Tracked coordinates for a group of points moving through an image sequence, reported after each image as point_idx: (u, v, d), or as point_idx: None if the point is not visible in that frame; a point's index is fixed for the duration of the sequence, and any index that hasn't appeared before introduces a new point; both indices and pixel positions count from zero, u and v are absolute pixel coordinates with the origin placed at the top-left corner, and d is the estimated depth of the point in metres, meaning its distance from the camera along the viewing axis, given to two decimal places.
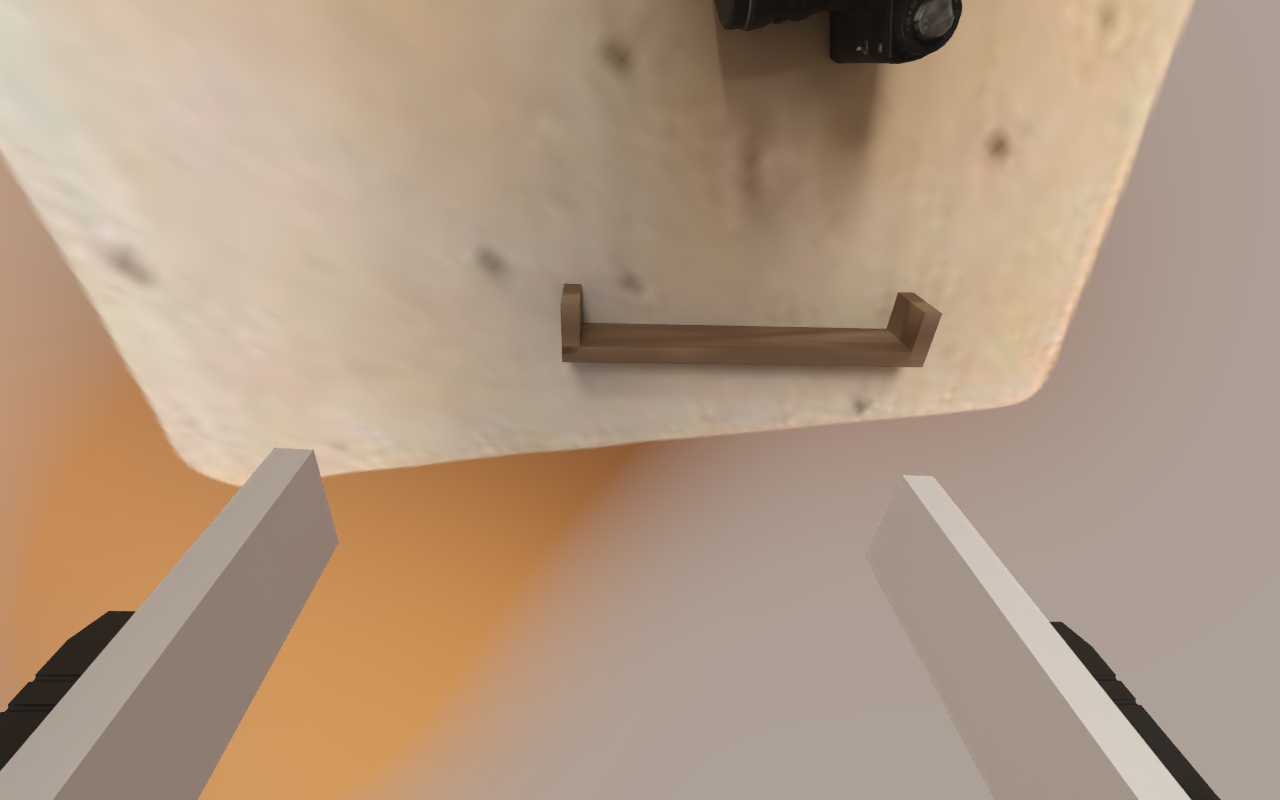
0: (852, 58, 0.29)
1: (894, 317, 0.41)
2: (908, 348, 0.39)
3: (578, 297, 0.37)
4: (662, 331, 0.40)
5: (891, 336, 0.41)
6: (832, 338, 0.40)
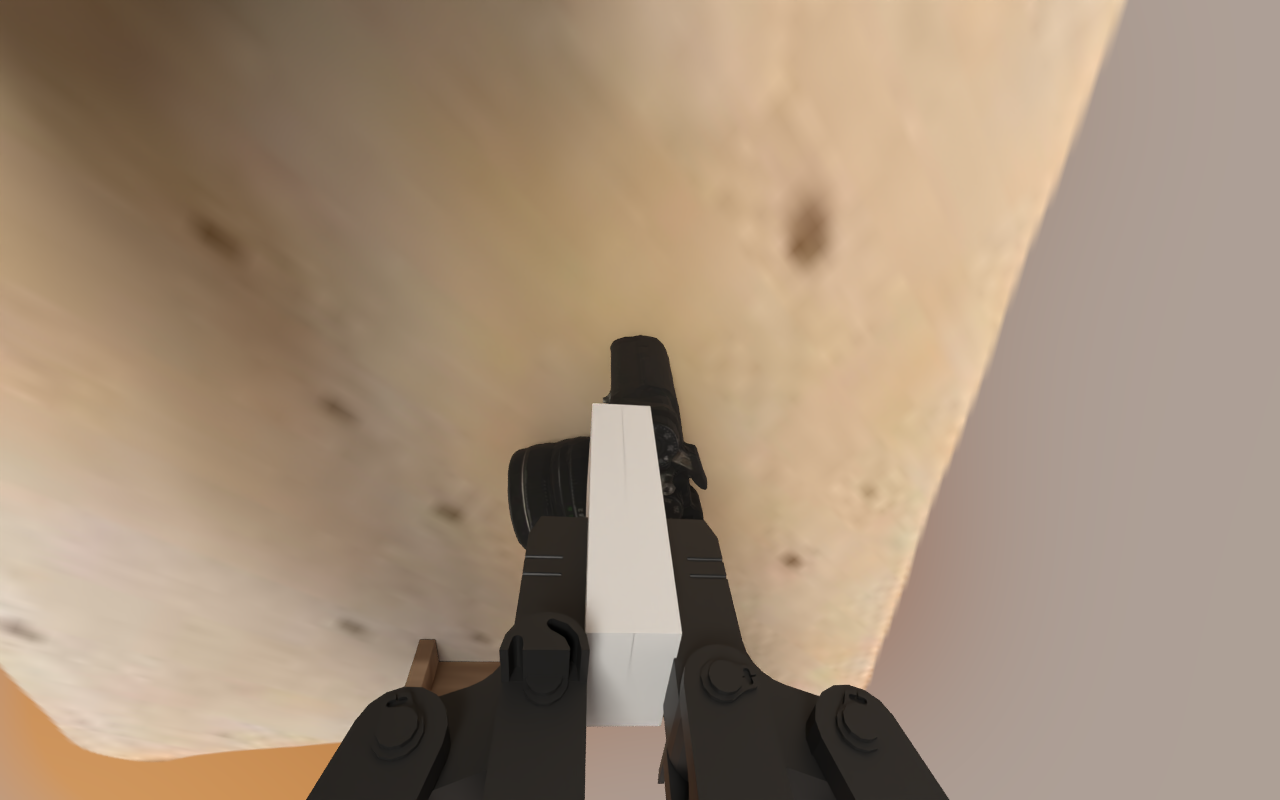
0: None
1: None
2: None
3: (424, 669, 0.42)
4: None
5: None
6: None
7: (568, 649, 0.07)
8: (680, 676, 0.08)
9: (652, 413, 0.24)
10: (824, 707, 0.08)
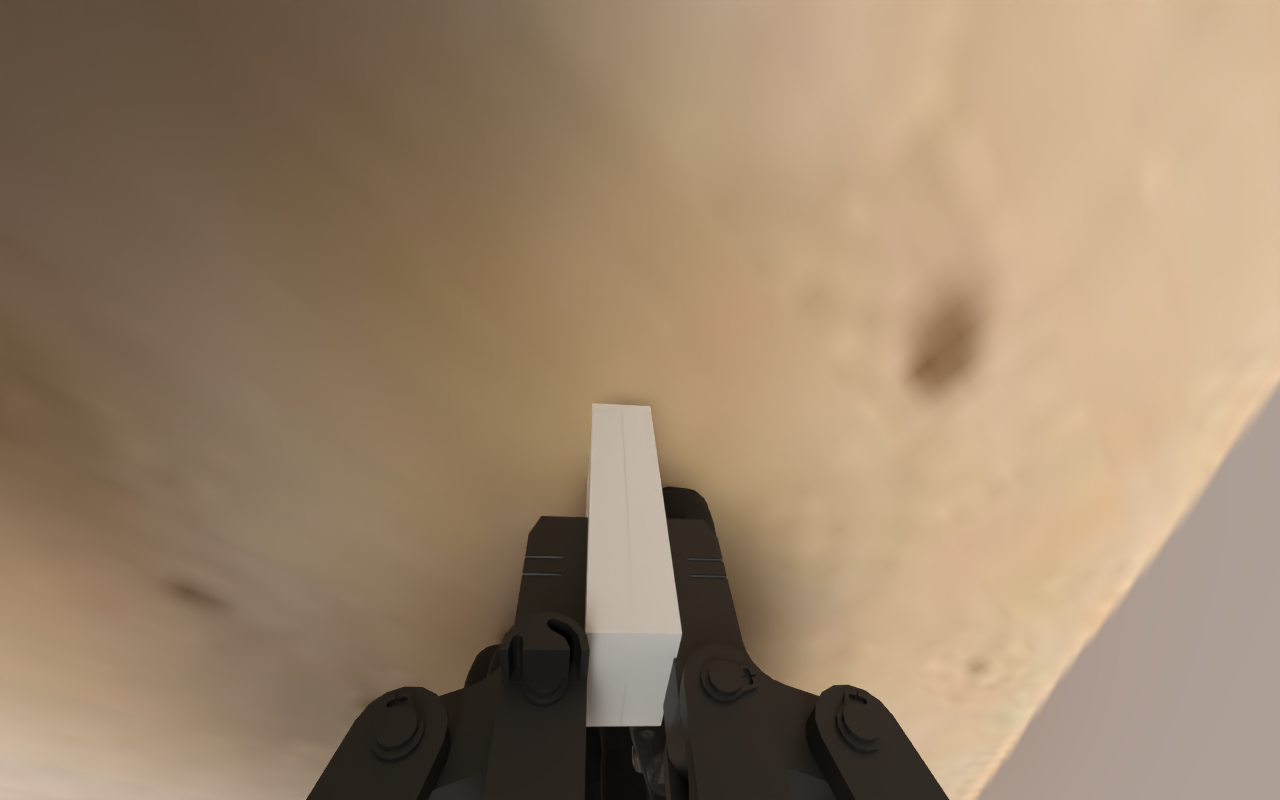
0: None
1: None
2: None
3: None
4: None
5: None
6: None
7: (568, 649, 0.07)
8: (680, 676, 0.08)
9: None
10: (824, 707, 0.08)
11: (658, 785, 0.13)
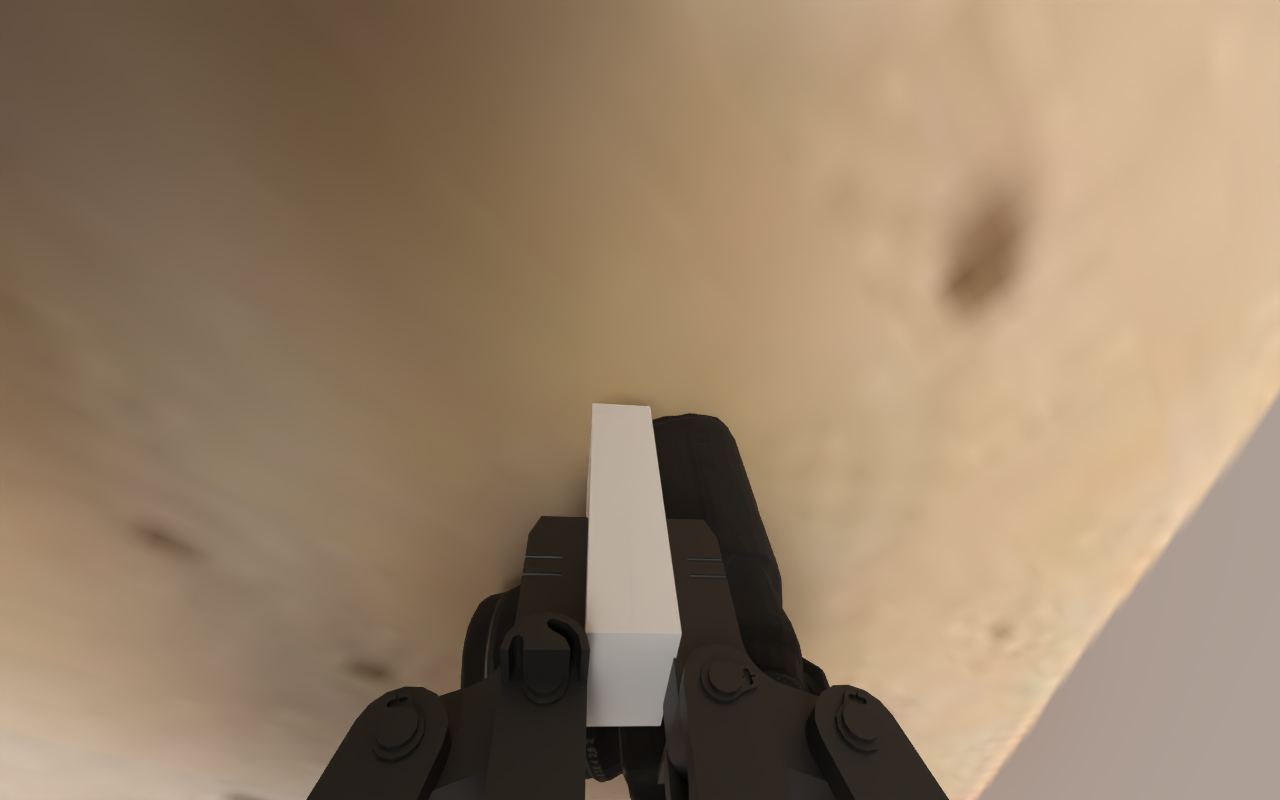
0: None
1: None
2: None
3: None
4: None
5: None
6: None
7: (568, 649, 0.07)
8: (680, 676, 0.08)
9: (748, 637, 0.11)
10: (824, 707, 0.08)
11: None
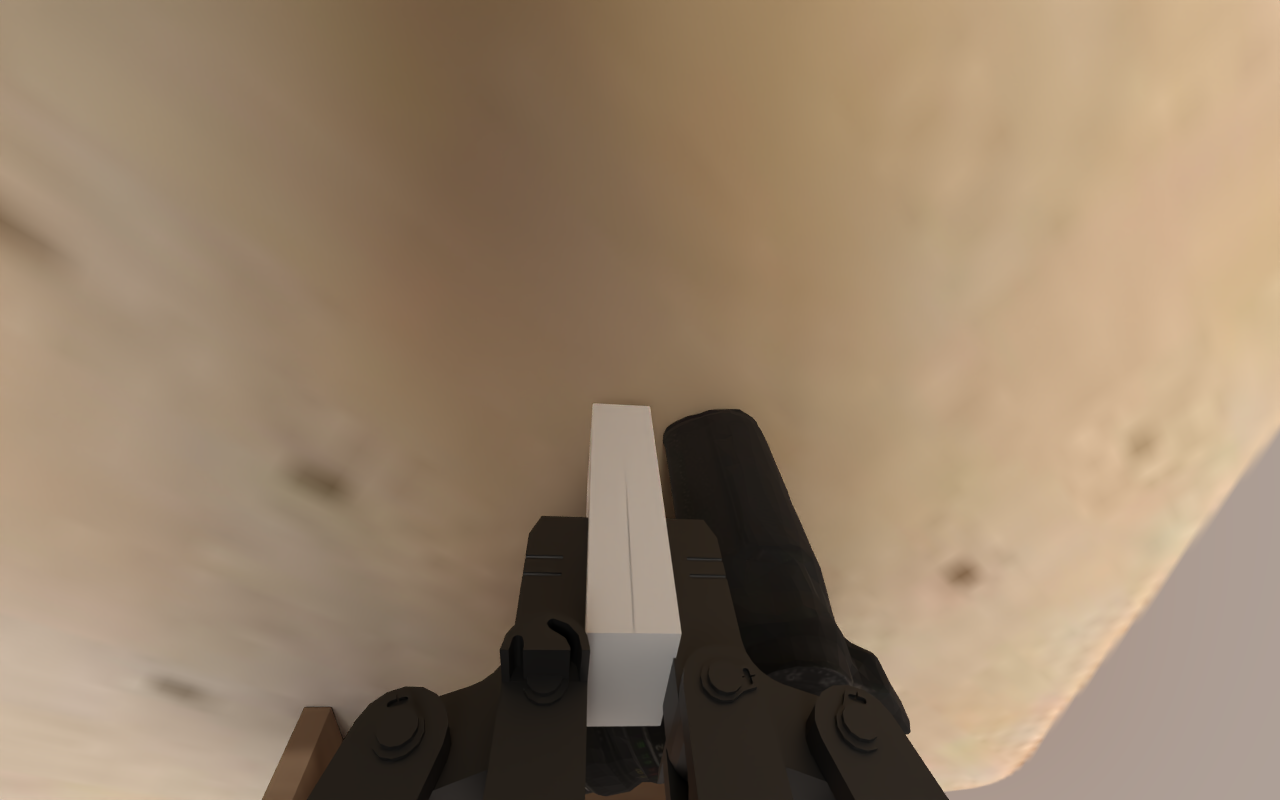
0: None
1: None
2: None
3: (303, 768, 0.23)
4: None
5: None
6: None
7: (568, 649, 0.07)
8: (679, 676, 0.08)
9: (784, 633, 0.11)
10: (823, 707, 0.08)
11: None
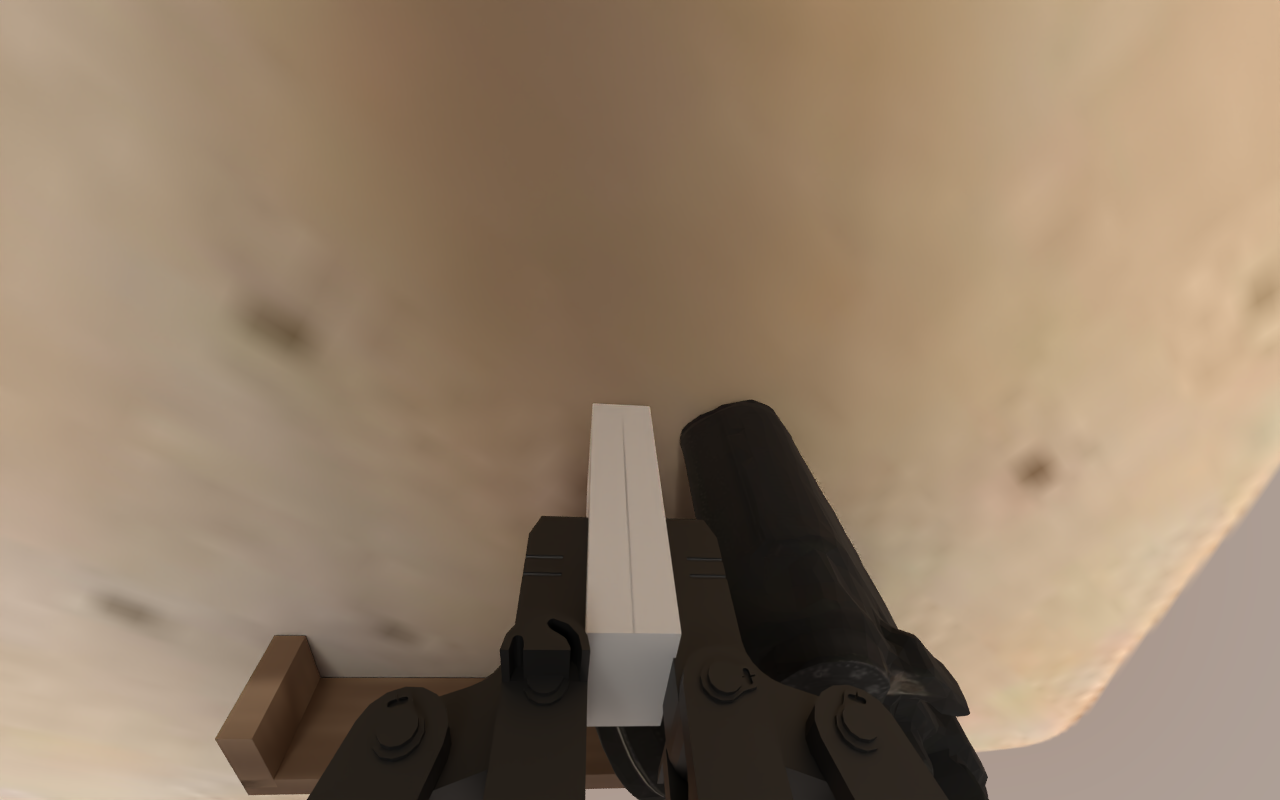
0: None
1: None
2: None
3: (269, 698, 0.20)
4: None
5: None
6: None
7: (568, 649, 0.07)
8: (679, 676, 0.08)
9: (806, 629, 0.10)
10: (823, 707, 0.08)
11: None
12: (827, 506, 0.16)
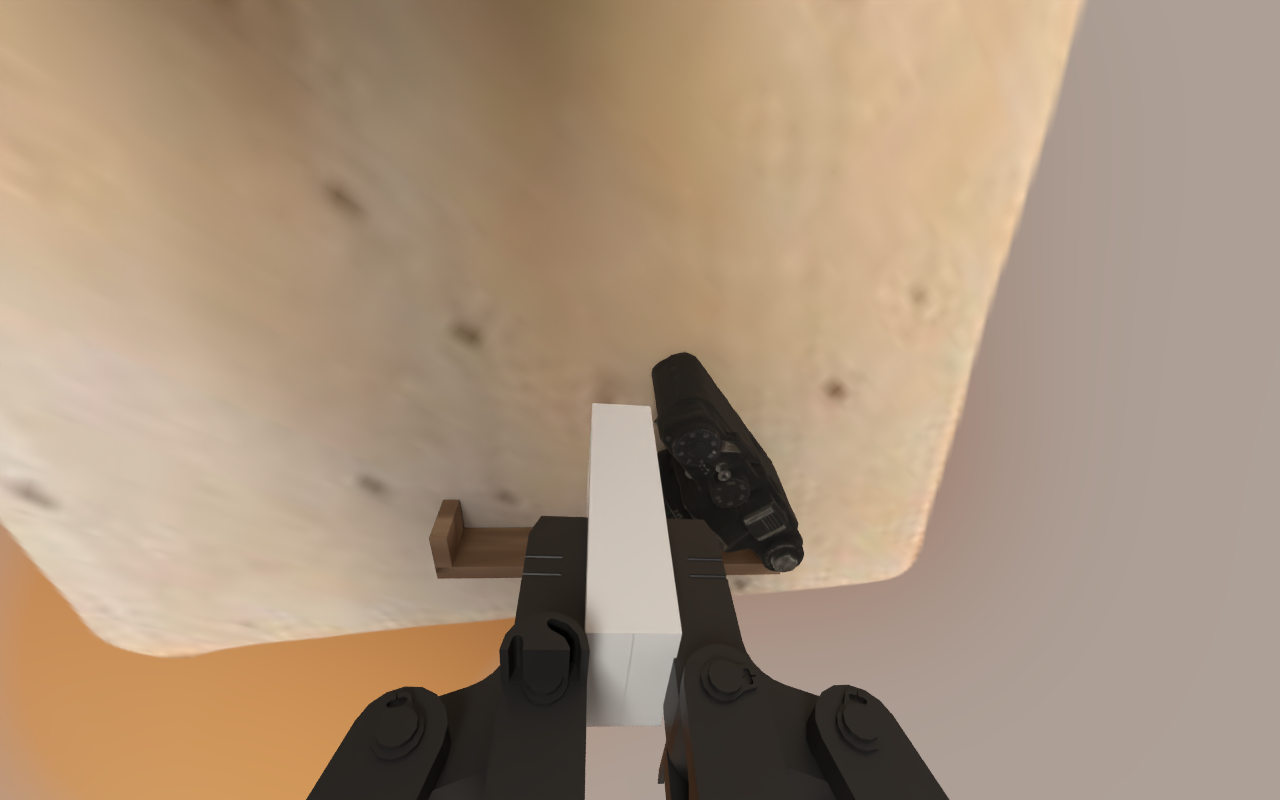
0: None
1: None
2: None
3: (449, 523, 0.39)
4: None
5: None
6: None
7: (568, 649, 0.07)
8: (680, 676, 0.08)
9: (688, 422, 0.29)
10: (824, 707, 0.08)
11: (681, 458, 0.30)
12: (719, 398, 0.35)
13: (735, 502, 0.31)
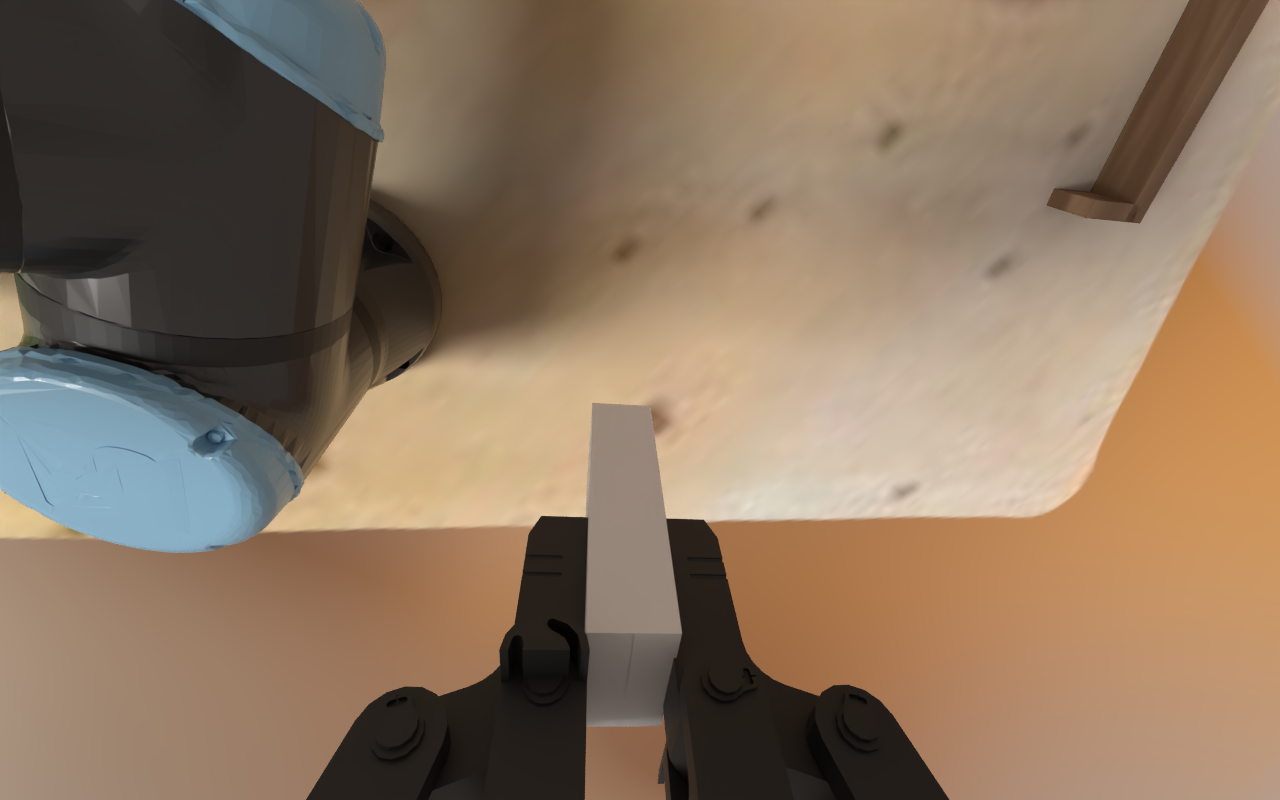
0: None
1: None
2: None
3: (1079, 197, 0.38)
4: (1151, 104, 0.37)
5: None
6: None
7: (568, 649, 0.07)
8: (680, 676, 0.08)
9: None
10: (824, 707, 0.08)
11: None
12: None
13: None
